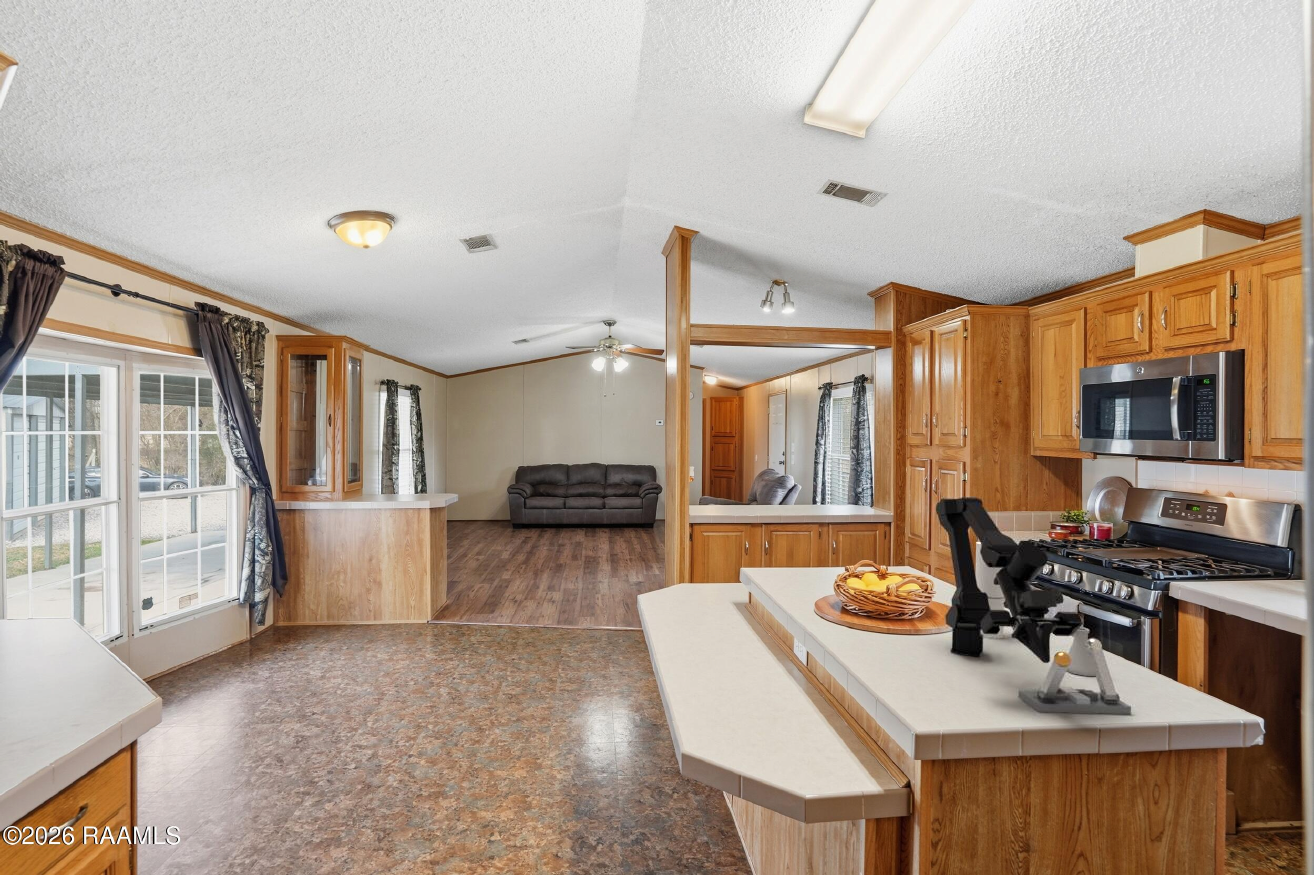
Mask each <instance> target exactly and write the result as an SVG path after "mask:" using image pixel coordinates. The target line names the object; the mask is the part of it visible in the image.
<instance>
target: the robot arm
mask: <svg viewBox="0 0 1314 875" xmlns="http://www.w3.org/2000/svg"><path fill="white" fill-rule="evenodd" d="M983 505H984V504H983V501H982V499H980V498H978V497H975V496H974V497H973V496H970V497H969V496H968V497H967V496H962V497H958V498H945V497H944V498H941V499H940V500H939V501H938V502H937V503H936V506H935V513H936V515H937V516H938V520H939V521H938V522H939V524H940V525H941V527H943V529H944V530H945V531H946V533H947V535H948V542H949V547H950V555H951V560H952V567H953V574H954V579H955V587H956V589H955V591H954V594H953V595H952V598H950V599H951V606H950V608H949V609H948V611H947V612H946V613H945V615H944V616H945V624H946V625H947V626H948V627H951V628H952V632H951V633H952V637H951V638H952V640H951V648H950V653H953V654H960V655H965V656H971V657H977V658H979V657H981V654H983V652H984V637H983V634H981V629H982V631H983V633H984V634H997V633H998V632H999V631H1000V628H999V626H1004V627H1007V628H1008V627H1010V628H1011V629H1012V631H1013V632H1012V633H1011V635H1010V637H1011V638H1012V639H1016V640H1017V641H1019V642H1020V643H1021V644H1023V645H1024V647H1026V648H1027V649H1028V650H1030V652H1031V653H1033V655H1034V656H1036V657H1037V658H1038V659H1039V660H1040V661H1041V662H1042V663H1043V664H1049V663H1050V662H1051V649H1050V648H1051V646H1050V641H1051V640H1050V638H1051V634H1053V635H1054V636H1056V637H1070V636H1074V635H1075V632H1076V631H1077V630H1078V629H1079V628H1080V627H1082V626H1083V625H1084V621H1083V618H1082V617H1081V615H1080V613H1078V612H1076V611H1058V612H1056V614H1055V615H1054V616H1052V617H1045V616H1044V615H1047V614H1049V612H1050V610H1049V609H1050V608H1057V607H1058V605H1059V604H1063V603H1064V595H1063V593H1062V591H1061V589H1060V588H1059V587H1055V586H1054V587H1053V586H1052V587H1051V586H1050V587H1049V588H1046V589H1032V586H1031V584H1030V582H1031V581H1033V580H1035V578H1036V577H1037V576H1038V575H1039V574H1040V572H1041V571H1042V569H1043V570H1044V567H1045V566H1046V565H1047V563H1048V560H1049V559H1048V555H1047V553H1046V552H1045V551H1044V550H1042V549H1041V548H1039V547H1038V546H1036V545H1034V544H1032V542H1031V540H1020V541H1019V542H1018V543H1017V542H1016V541H1015V540H1014V539H1013V538H1012V537H1010V536H1008V535H1006V534H1004V533H1002V532H1001V531H1000V529H999V528H998V526H997V525H996V523H995V521H994V520H993V519H992V518H991V516H990V514H989V513H988V512H987V510H986V508H985V507H984V506H983ZM970 528H971V530H972V531H973V533H974V534H975V536H976V538H977V539H978V542H980V543H981V545H982V546H981V550H980V553H981V556H982V559H983V561H984V562H985V564H986V565H987V566H988V567H991V568H1002V569H1000V570H999V572H998V573H996V577H995V579H994V585H1000V588H1001V590H1002V593H1003V595H1004V603H1003V604H1004V610H991V609H990V606H989V602H988V595H987V594H986V593H985V592H982V591H981V590H980V589H979V588H978V586H977V581H976V568H975V562H974V558H973V553H972V552H973V551H972V546H971V545H972V544H971V540H970V534H969V529H970ZM1006 608H1007V609H1008V610H1009V611H1008V610H1006ZM1073 634H1074V635H1073Z"/></svg>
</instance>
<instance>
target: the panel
mask: <svg viewBox="0 0 1314 875" xmlns="http://www.w3.org/2000/svg"><path fill="white" fill-rule="evenodd" d="M1038 691H1039V690H1023V689H1022V690H1021V689H1019V690H1018V698H1019V699H1021V701H1023V702H1024V703H1025V704H1027V705H1028V706H1029V707H1031V708H1032V709H1034V710H1035V711H1036V712H1038V713H1059V712H1068V713H1069V714H1097V713H1106V714H1105V715H1132V706H1131V705H1129V704H1127V703H1126V702H1123V701H1121V700H1119V702H1111V701H1102V700H1101V698H1100V693H1101V691H1099V692H1098V691H1096V692H1095V691H1093V690H1091V689H1090V690H1089V689H1087V690H1086V689H1083V688H1082V689H1081V688H1073V687H1072V686H1059V688H1058V690H1057V692H1056V699H1055V700H1040V699H1039V698H1038V696H1037V692H1038ZM1068 713H1067V714H1068Z"/></svg>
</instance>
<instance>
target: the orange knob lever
mask: <svg viewBox="0 0 1314 875" xmlns="http://www.w3.org/2000/svg"><path fill="white" fill-rule="evenodd" d="M1070 664H1071V658H1070V656H1069V655H1068V653H1067V652H1064V651H1058V652H1056V653H1055V654H1054V656H1053V661H1052V662H1051V665H1050V667H1049V670H1048V672H1047V675H1046V677H1045V679H1044V681H1043V682H1042V685H1041V688H1040V690H1037V691H1038V692H1037V696H1038V698H1039V699H1040V700H1055V699H1056V692H1057V690H1058V688H1059V687H1061V686H1060V685H1061V683H1062V682H1063V679H1064V677H1065V674H1066V672H1067V671H1066V670H1067V668H1068V666H1069V665H1070Z"/></svg>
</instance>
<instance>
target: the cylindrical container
mask: <svg viewBox="0 0 1314 875" xmlns="http://www.w3.org/2000/svg"><path fill="white" fill-rule="evenodd" d="M975 543H976V544H975V545H976V546H975V548H976V549H975V575H976V581H977V586H978V588H979V589H980V590H981V591H982V592H985V593H986V594H987V595H988V602H989V606H990V609H991V610H1005V607H1004V604H1003V603H1004V602H1005V598H1004V595H1003V593H1002V590H1001V588H1000V585H994V579H995V577H996V573H998V572H999V570H1000V569H1002V568H991V567H988V566H987V565H986V564H985V562H984V561H983V559H982V556H981V553H980V550H981V546H982V545H981V543H980V541H976V542H975ZM1004 627H1005V626H999V628H1000V631H999V632H998V633H997V634H984V633H983V631H982V629H981V634H983V638H986V639H987V638H989V639H994V640H995V639H997V638H998V639H1002V638H1004V633H1005V632H1004V631H1005V630H1004Z"/></svg>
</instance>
